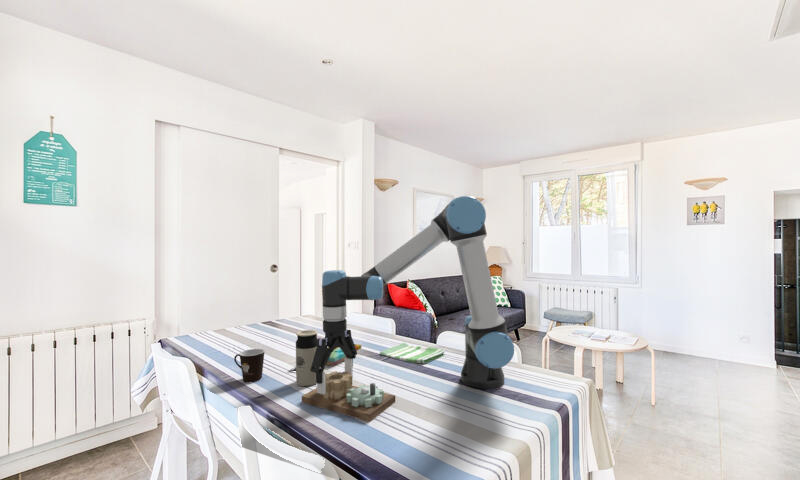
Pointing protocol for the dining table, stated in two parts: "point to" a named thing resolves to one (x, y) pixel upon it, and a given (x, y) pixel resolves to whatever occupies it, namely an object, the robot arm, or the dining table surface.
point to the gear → (365, 395)
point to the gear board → (348, 405)
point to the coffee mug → (251, 364)
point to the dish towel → (413, 353)
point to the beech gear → (337, 385)
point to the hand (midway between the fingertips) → (335, 385)
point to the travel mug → (305, 357)
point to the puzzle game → (339, 355)
